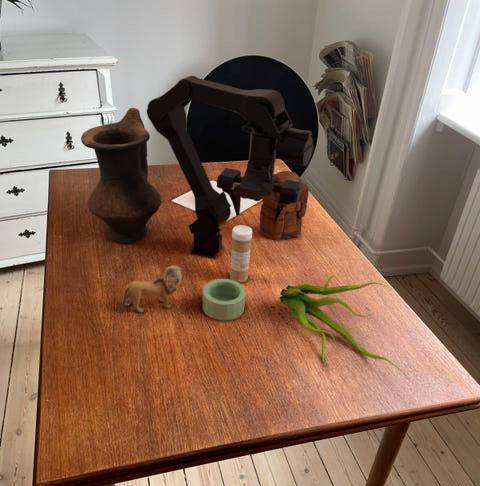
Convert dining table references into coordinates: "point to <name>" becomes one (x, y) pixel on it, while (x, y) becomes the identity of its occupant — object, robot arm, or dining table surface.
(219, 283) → the jar
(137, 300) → the lion figurine
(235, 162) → the dining table surface
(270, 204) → the wooden figurine
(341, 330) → the decorative plant
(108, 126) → the jug
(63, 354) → the dining table surface
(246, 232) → the sprinkles bottle
